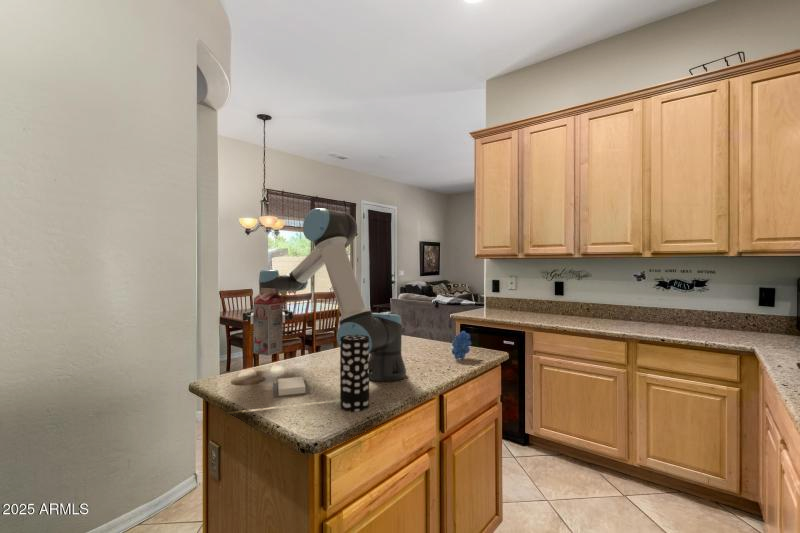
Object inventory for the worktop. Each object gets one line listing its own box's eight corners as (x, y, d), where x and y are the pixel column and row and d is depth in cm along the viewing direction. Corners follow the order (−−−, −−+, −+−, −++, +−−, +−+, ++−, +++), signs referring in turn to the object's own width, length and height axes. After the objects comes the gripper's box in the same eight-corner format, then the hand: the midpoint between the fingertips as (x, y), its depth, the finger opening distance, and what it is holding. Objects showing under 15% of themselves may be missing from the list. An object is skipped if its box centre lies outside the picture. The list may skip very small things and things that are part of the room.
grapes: (463, 354, 174) (463, 328, 174) (474, 357, 169) (474, 330, 169) (445, 358, 167) (445, 331, 167) (456, 362, 162) (456, 333, 162)
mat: (273, 385, 131) (273, 383, 131) (306, 381, 134) (306, 380, 134) (273, 399, 117) (273, 397, 117) (310, 395, 120) (310, 394, 120)
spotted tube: (371, 409, 109) (371, 339, 109) (342, 413, 106) (342, 341, 106) (365, 399, 117) (365, 334, 117) (338, 402, 114) (338, 335, 114)
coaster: (270, 378, 139) (270, 375, 139) (254, 387, 128) (254, 385, 128) (242, 376, 140) (242, 374, 140) (224, 386, 130) (224, 383, 130)
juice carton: (268, 355, 127) (268, 289, 127) (253, 353, 130) (253, 288, 130) (282, 351, 133) (282, 288, 133) (267, 349, 136) (268, 287, 136)
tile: (277, 379, 128) (278, 389, 118) (302, 376, 131) (305, 386, 120) (277, 385, 128) (278, 396, 118) (302, 383, 131) (305, 393, 120)
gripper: (297, 319, 152) (302, 329, 131) (237, 321, 145) (231, 332, 124) (298, 300, 152) (302, 307, 131) (237, 301, 145) (231, 309, 124)
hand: (268, 319), depth 127 cm, fingers closed on juice carton, 9 cm apart
